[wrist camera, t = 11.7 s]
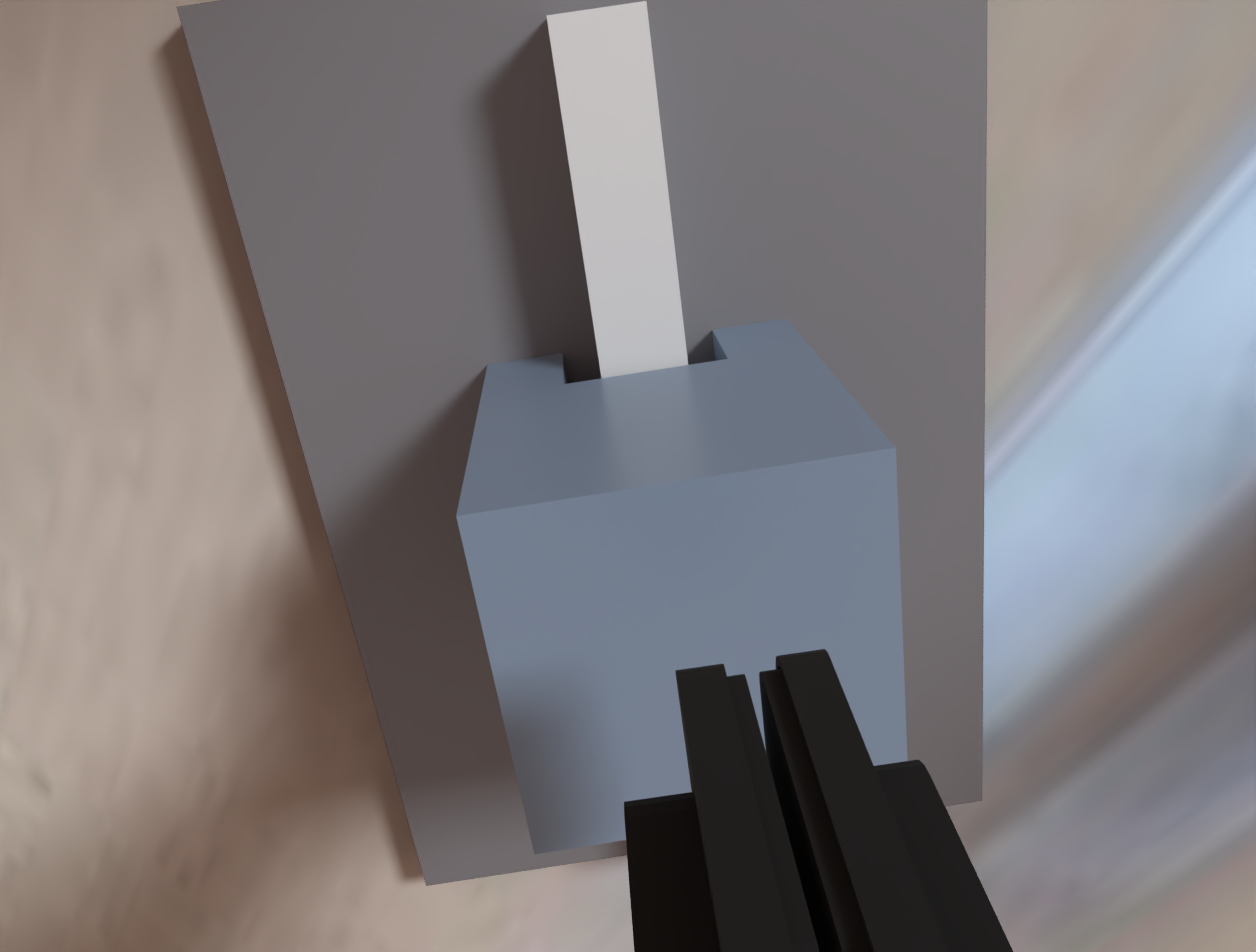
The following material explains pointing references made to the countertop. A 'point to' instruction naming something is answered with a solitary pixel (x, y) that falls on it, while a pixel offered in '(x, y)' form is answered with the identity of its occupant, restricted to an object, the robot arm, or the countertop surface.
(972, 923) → the robot arm
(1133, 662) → the countertop surface
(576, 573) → the block
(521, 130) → the rail plate
